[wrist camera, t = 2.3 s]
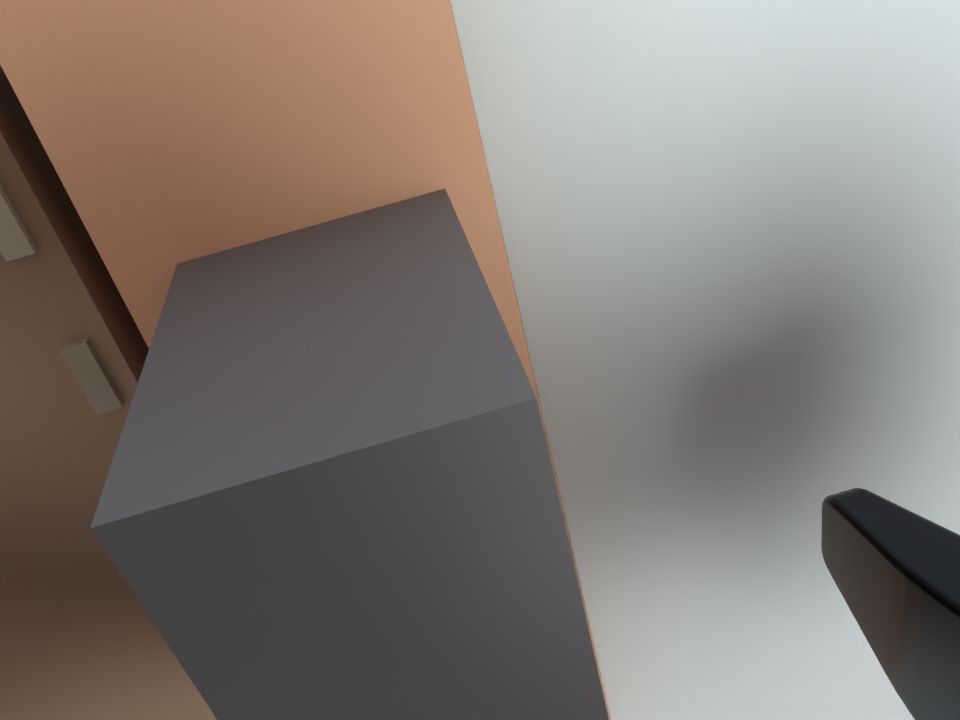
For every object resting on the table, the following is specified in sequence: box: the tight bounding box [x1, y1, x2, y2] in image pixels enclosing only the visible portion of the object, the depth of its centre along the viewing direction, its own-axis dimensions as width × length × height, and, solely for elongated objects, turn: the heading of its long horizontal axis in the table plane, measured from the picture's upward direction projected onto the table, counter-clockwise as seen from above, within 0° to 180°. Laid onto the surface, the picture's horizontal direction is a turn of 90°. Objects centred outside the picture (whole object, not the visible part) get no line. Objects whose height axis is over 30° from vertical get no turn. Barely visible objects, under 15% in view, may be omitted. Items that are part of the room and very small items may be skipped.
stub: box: [0, 0, 610, 720], centre depth 10 cm, size 16×4×5 cm, turn 13°
